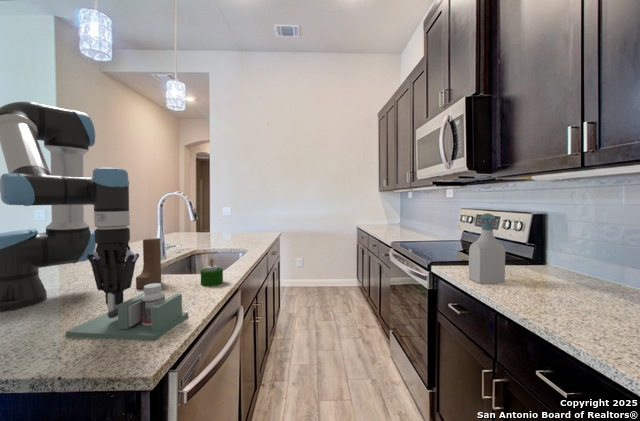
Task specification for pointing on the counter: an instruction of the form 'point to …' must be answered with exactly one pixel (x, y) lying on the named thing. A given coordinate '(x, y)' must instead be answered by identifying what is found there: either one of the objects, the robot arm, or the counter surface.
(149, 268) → the wooden block
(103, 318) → the vise
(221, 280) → the candle
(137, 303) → the sliding jaw
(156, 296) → the pill bottle
